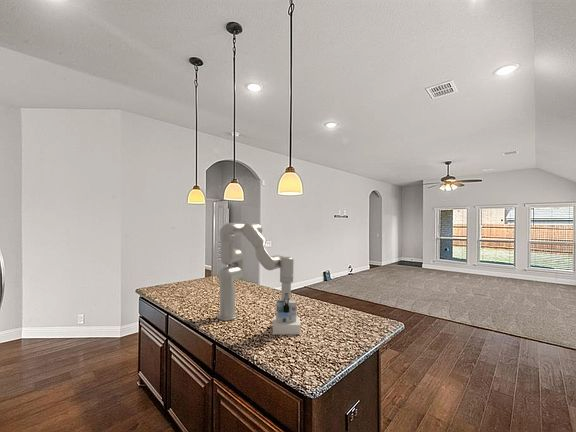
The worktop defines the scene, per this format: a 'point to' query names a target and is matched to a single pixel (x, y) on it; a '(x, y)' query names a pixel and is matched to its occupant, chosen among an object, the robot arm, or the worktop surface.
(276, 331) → the plinth
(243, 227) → the robot arm
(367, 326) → the worktop surface
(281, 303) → the light bulb box
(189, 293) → the worktop surface
